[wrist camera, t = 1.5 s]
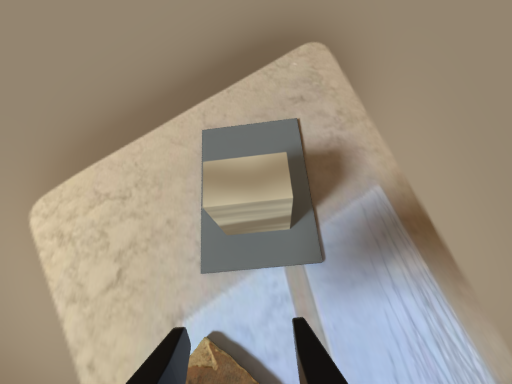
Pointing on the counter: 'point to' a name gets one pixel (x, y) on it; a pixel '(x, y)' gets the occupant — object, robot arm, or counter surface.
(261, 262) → the rubber mat
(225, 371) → the shard
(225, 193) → the beige block
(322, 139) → the counter surface
